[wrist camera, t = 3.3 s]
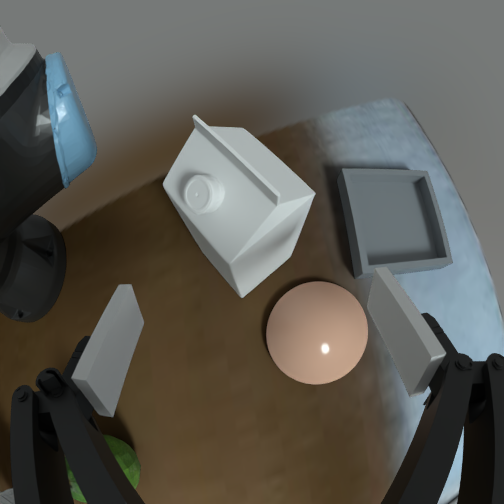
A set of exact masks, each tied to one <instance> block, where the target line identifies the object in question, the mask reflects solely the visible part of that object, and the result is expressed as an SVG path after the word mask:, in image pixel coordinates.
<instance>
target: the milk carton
mask: <svg viewBox="0 0 504 504" xmlns="http://www.w3.org/2000/svg"><path fill="white" fill-rule="evenodd" d="M193 121H194V124H195V129H194V130H193V132H192V134H191V135H190V137H189V139H188V140H187V142H186V144H185V145H184V147H183V149H182V150H181V152H180V154H179V155H178V157H177V159H176V161H175V162H174V164H173V166H172V168H171V169H170V171H169V173H168V175H167V177H166V178H165V180H164V182H163V186H164V189H165V191H166V193H167V194H168V196H169V198H170V199H171V201H172V203H173V205H174V206H175V208H176V210H177V211H178V213H179V215H180V216H181V218H182V220H183V221H184V223H185V225H186V226H187V228H188V229H189V231H190V233H191V234H192V236H193V238H194V239H195V241H196V243H197V244H198V246H199V247H200V249H201V251H202V252H203V253H204V255H205V256H206V257H207V258H208V259H209V261H210V262H211V263H212V264H213V265H214V267H215V268H216V269H217V270H218V271H219V273H220V274H221V275H222V276H223V277H224V279H225V280H226V281H227V282H228V283H229V284H230V286H231V287H232V288H233V289H234V290H235V291H236V293H237V294H238V295H239V296H240V297H241V298H243V297H244V296H245V295H246V294H248V293H249V292H250V291H251V290H252V289H254V288H255V287H256V286H257V285H258V284H259V283H261V282H262V281H263V280H264V279H265V278H267V277H268V276H269V275H270V274H271V273H272V272H274V271H275V270H276V269H277V268H278V267H279V266H281V265H282V264H283V263H284V262H285V261H286V260H287V259H289V258H290V257H291V255H292V252H293V250H294V247H295V245H296V242H297V239H298V237H299V234H300V232H301V229H302V227H303V224H304V221H305V219H306V216H307V214H308V211H309V208H310V206H311V203H312V200H313V198H314V195H315V192H314V191H313V190H312V189H311V188H310V187H309V186H308V185H307V184H306V183H304V182H303V181H302V180H301V179H300V178H299V177H298V176H297V175H296V174H295V173H294V172H293V171H292V170H291V169H290V168H288V167H287V166H286V165H285V164H284V163H283V162H282V161H281V160H280V159H279V158H277V157H276V156H275V155H274V154H273V153H272V152H271V151H270V150H268V149H267V148H266V147H265V146H264V145H263V144H262V143H261V142H259V141H258V140H257V139H256V138H255V137H254V136H252V135H251V134H250V133H249V132H248V131H246V130H245V129H244V128H233V127H209V126H207V125H206V124H205V123H204V122H203V121H202V120H201V119H199V118H198V117H197V116H196V115H194V116H193Z"/></svg>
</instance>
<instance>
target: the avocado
mask: <svg viewBox="0 0 504 504" xmlns="http://www.w3.org/2000/svg"><path fill="white" fill-rule="evenodd" d="M103 436H104V438H105V440H106V442H107V444H108V446H109V448H110V449H111V451H112V453H113V455H114V456H115V458H116V460H117V462H118V463H119V465H120V467H121V468H122V470H123V472H124V473H125V475H126V476H127V478H128V480H129V481H130V483H131V484H132V486H133V487H134V489H136V487H137V485H138V482H139V477H140V467H141V465H140V463H139V461H138V458H137V455H136V453H135V452H134V450H133V449H132V448H131V447H130V446H129V445H128V444H126V443H125V442H124V441H122V440H120V439H117V438H115V437H112V436H110V435H103ZM65 462H66V468H67V474H68V479H69V484H70V489H71V493H72V497H73V498H74V499H75V500H78V501H81V502H85V503H87V502H86V500H85V498H84V496H83V494H82V492H81V490H80V488H79V486H78V484H77V482H76V480H75V478H74V475H73V473H72V471H71V469H70V466H69V464H68V462H67V459H66V457H65Z"/></svg>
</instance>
